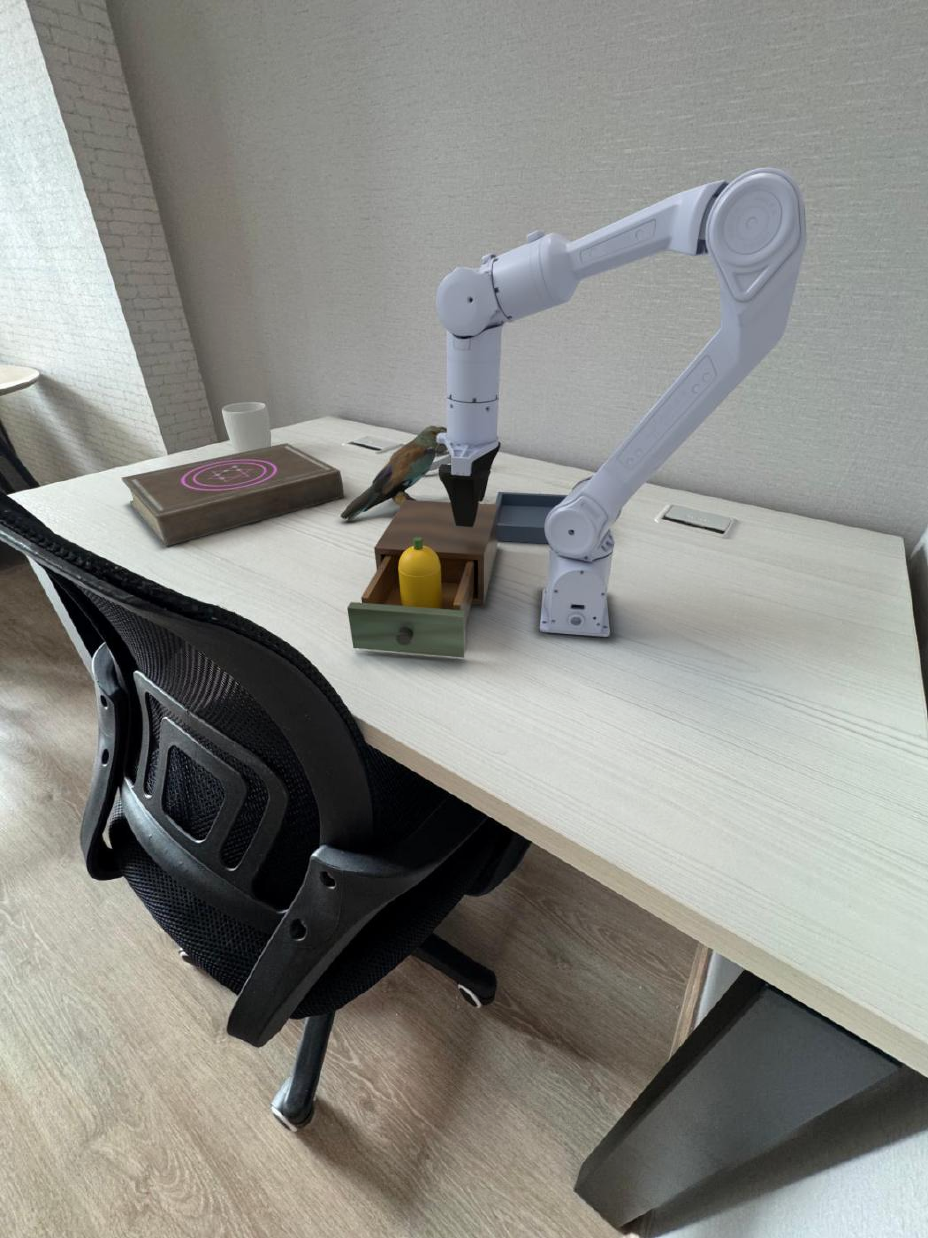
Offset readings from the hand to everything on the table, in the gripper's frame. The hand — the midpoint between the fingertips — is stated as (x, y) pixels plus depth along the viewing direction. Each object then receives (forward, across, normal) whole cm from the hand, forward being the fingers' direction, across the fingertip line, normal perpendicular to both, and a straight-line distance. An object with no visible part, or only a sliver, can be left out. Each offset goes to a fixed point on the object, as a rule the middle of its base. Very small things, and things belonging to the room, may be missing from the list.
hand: (470, 512), depth 69 cm
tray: (+10, -21, +8) cm, 25 cm away
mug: (+13, -50, -57) cm, 76 cm away
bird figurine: (+11, -23, -16) cm, 30 cm away
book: (+12, -23, -46) cm, 52 cm away
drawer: (+9, +11, -4) cm, 15 cm away
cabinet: (+10, -3, -4) cm, 12 cm away
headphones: (+11, -47, -14) cm, 51 cm away
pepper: (+8, +10, -4) cm, 13 cm away
